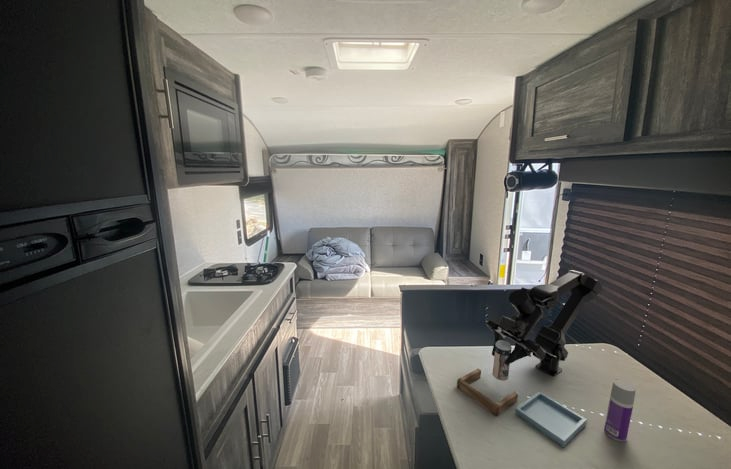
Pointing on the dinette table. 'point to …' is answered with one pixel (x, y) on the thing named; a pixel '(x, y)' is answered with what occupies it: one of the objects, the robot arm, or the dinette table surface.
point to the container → (619, 410)
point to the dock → (482, 399)
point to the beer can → (501, 360)
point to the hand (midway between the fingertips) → (499, 359)
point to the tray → (551, 418)
